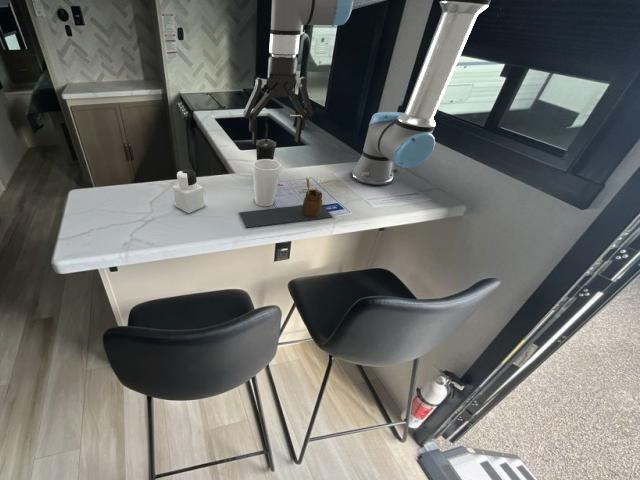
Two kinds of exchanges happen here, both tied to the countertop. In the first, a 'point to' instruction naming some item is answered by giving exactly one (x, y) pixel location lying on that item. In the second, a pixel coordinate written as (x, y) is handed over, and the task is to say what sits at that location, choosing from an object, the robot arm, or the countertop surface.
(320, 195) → the utensil holder
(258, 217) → the edge runner mat
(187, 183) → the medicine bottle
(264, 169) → the foam cup
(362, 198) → the countertop surface
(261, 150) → the drinking cup
